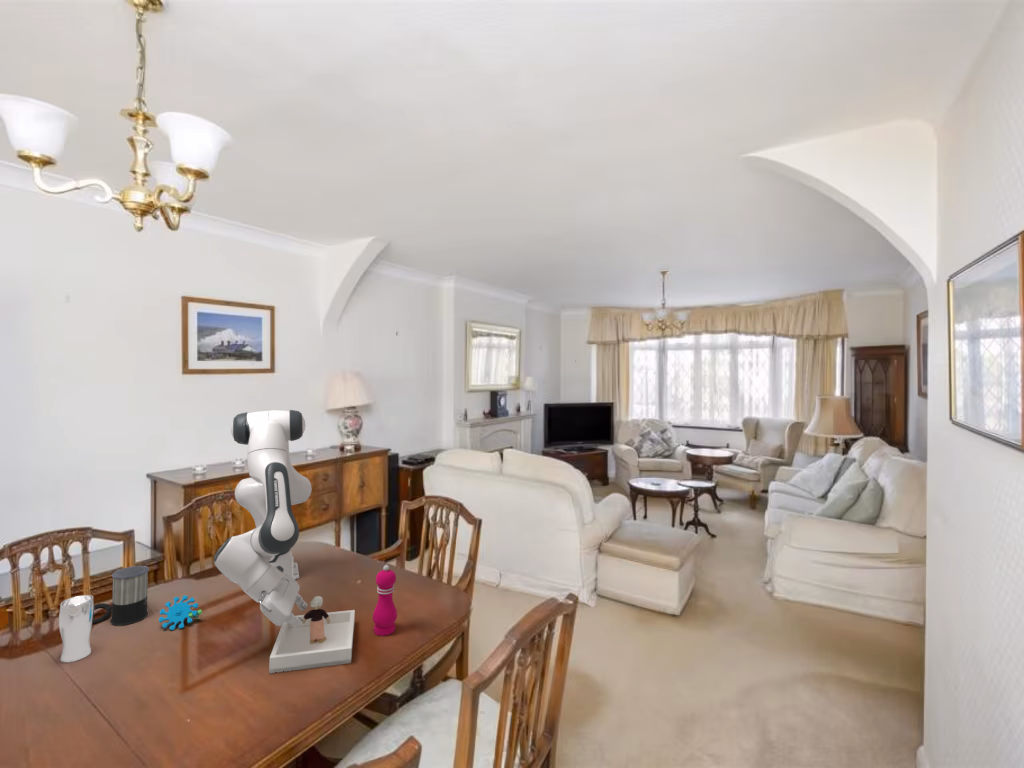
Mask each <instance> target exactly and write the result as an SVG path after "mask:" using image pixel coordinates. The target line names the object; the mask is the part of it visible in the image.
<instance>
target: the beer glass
mask: <svg viewBox="0 0 1024 768" xmlns="http://www.w3.org/2000/svg"><path fill="white" fill-rule="evenodd" d="M94 605H95V604H94V595H91V594H84V595H83V594H81V595H77V596H73V597H69V598H67V599H64V600H63V601H61V602H60V605H59V606H60V607H59V614H58V615H59V616H58V628H59V632H60V637H61V641H62V642H61V643H62V652H61V656H60V662H61V663H73V662H77V661H80V660H82V659H85V658H87V657H88V656H89V655H91V653H92V648H91V643H90V637H91V631H92V627H93V624H94V623H93V619H94V618H95V610H94Z"/></svg>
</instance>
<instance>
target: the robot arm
mask: <svg viewBox="0 0 1024 768" xmlns="http://www.w3.org/2000/svg"><path fill="white" fill-rule="evenodd" d="M305 420H306V419H305V418H304V416H303V413H302V412H301V411H298V410H295V409H294V410H293V409H289V410H285V409H284V410H282V409H279V410H278V409H268V410H261V411H260V410H259V411H253V412H247V411H246V412H242V413H238V414H237V415H235V416H234V417H233V420H232V422H231V425H230V434H231V435H232V437H233V441H234V442H236V443H237V444H240V445H246V446H247V452H246V453H247V455H246V456H247V461H246V462H247V469H248V474H249V477H247V478H244V479H241V480H239V482H238V483H237V484H236V487H235V489H234V498H235V501H236V502H237V504H238V505H240V506H241V507H243V508H244V509H245V510H246V511H248V512H249V514H251V517H252V519H253V520H254V523H255V528H253V529H251V530H249V531H246V532H244V533H242V534H238V535H234V536H230V537H228V538H227V539H226V540H225V541H224V543H223V544H221V546H220V547H219V549H218V550H216V553H215V555H214V557H213V564H214V565H215V567H216V568H217V569H218V570H219V572H220V573H222V575H223V576H225V578H227V579H228V580H229V581H230V582H231V583H234V584H236V585H238V586H239V587H240V588H241V590H242V591H243V592H244V593H245V594H246V595H248V597H250V598H251V599H252V600H253V601H255V602H256V603H259V609H260V611H261V613H262V614H263V615H264V617H266V618H268V620H269V621H270V622H272V624H274V625H275V626H277V627H281V626H282V624H283V623H284V622H285V621H286V622H287V623H290V624H293V625H294V626H296V627H297V628H298V627H299V626H300V625H301V624H302V622H303V620H302V619H301V618H300V617H296V616H297V615H294V613H293V612H292V610H293V608H294V605H297V607H298V609H299V610H300V611H301V612H304V611H305V610H306V609H307V608H308V603H307V602H306V601H305V600H304V599H303V597H302V596H301V594H300V593H299V592H300V588H301V586H300V584H299V583H298V581H297V579H300V572H299V571H300V570H299V565H298V562H295V561H294V556H293V552H292V551H291V549H292V548H293V547H295V544H297V542H298V539H299V537H300V536H299V535H300V527H299V524H298V521H297V519H296V518H295V516H294V513H293V509H292V506H294V505H299V504H302V503H306V502H307V501H308V499H309V498H310V496H311V494H312V484H311V481H310V480H309V478H308V477H306V476H304V475H302V474H301V473H299V472H298V471H297V469H295V468H294V466H293V465H292V462H291V458H290V446H289V445H290V443H289V441H290V442H294V441H297V440H300V439H301V438H303V434H304V433H305V430H306V421H305Z"/></svg>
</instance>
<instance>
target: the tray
mask: <svg viewBox="0 0 1024 768" xmlns="http://www.w3.org/2000/svg"><path fill="white" fill-rule="evenodd" d="M326 613H327V614H328V615H329V619H330V621H331V622H330V623H329V624H328V623H327V621H326V619H325V618H324V617H323V616H322V617H323V621H324V636H325V637H326V640H325V641H324V642H323V643H318V640H319V639H317V641H316V643H313V644H310V621H311V618H310V619H307V620H306V622H305V623H304V624H303V623H302V624H301V625H300V626H299V627H298V628H297V627H296V626H294V625H293V624H290V623H287V622H286V621H285V622H284V623H283V624H282V625H281V626H280V630H279V633H278V635H277V637H276V639H275V643H274V645H273V647H272V650H271V653H270V656H269V660H268V661H269V662H268V663H269V665H268V666H269V667H268V674H269V673H270V674H276V673H275V672H277V673H284V672H285V673H286V672H292V670H293V671H298V670H307V669H316V668H323V667H330V666H331V667H332V666H338V665H345V664H351V663H352V657H353V643H354V633H355V632H354V631H355V621H356V619H355V616H356V614H355V613H356V612H355V609H352V610H351V609H350V610H341V611H331V612H326ZM295 616H296V617H300V618H301V619H302V620H303V618H304V616H305V614H301V615H300V614H299V615H295ZM283 671H284V672H283Z"/></svg>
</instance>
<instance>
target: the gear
mask: <svg viewBox="0 0 1024 768" xmlns="http://www.w3.org/2000/svg"><path fill="white" fill-rule="evenodd" d="M188 599H189V600H188ZM179 600H180V597H179V596H175V597H173V601H174V602H173V605H172V602H171V601H167V602H166V603H165V607H166V608H168V611H166V610H165V609H164V608H162V609H160V610H159V614H160V615H166V617H165V618H164V617H163V616H159V617H158V622H159V623H162V628H163V629H166V628H167V627H169V628H168V629H169V630H170V631H175V629H176V626H177V625H178V624H179V623H180V624H179V625H178V629H184V628H185V624H184V622H185V620H187V621H186V622H187V624H191V623H193V619H196V620H199V619H200V617H199V616H200V615H202V614H203V611H202V609H198V610H192V609H191V608H194V609H197V608H199V603H198V602H195V601H196V600H195V598H194V597H193V596H192V597H190V598H189V597H188V595H183V596H182V597H181V600H180V601H179ZM184 601H185V602H184ZM194 602H195V603H194ZM190 603H193V604H190ZM171 605H172V606H171ZM198 618H199V619H198ZM165 621H168V622H165ZM171 624H172V625H171Z"/></svg>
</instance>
